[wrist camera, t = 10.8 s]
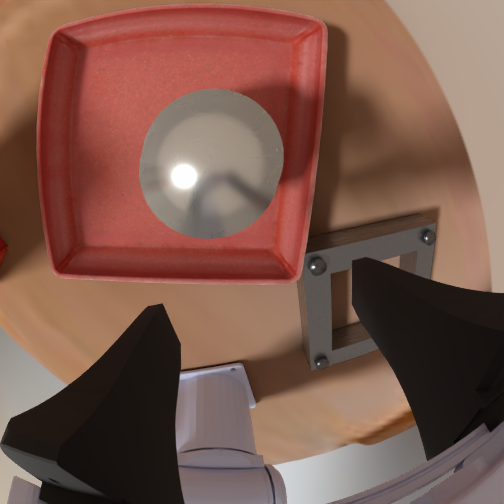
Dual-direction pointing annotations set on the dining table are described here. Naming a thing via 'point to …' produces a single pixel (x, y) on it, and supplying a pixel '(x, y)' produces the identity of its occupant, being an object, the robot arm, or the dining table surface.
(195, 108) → the end cover
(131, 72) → the plant saucer
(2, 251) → the baking soda box
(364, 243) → the bore housing
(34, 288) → the dining table surface
